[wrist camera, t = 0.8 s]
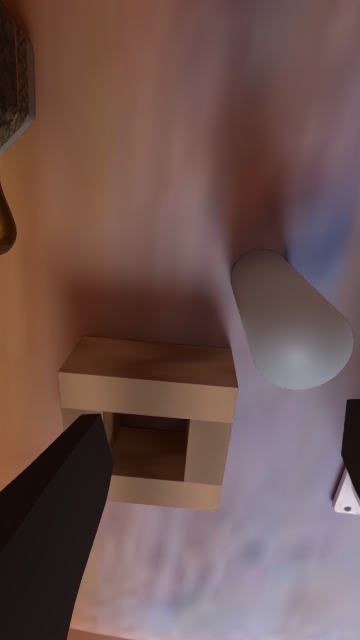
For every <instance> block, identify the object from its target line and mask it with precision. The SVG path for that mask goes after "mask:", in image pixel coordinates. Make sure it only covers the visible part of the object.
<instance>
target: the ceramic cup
mask: <svg viewBox="0 0 360 640" xmlns="http://www.w3.org/2000/svg"><path fill="white" fill-rule="evenodd" d="M34 120H35V89H34V58H33V47H32V45H31V43H30V41H29V40H28V39H27V37H26V36H25V34H24V32H23V31H22V30H21V28H20V27H19V25H18V24H17V22H16V21H15V20H14V18H13V17H12V16H11V14H10V13H9V11H8V10H7V9H6V7H5V6H4V5H3V3H2V2H1V1H0V154H2V153H3V152H5V151H6V150H7V149H8V148H9V147H10V145H11V144H12V143H13V142H14V141H15V140H16V139H17V138H18V137H19V136H20V135H21V134H22V133H23V132H24V131H25V130H26V129H27V128H28V127H29V126H30V125H31V124H32V123H33V121H34ZM16 235H17V231H16V225H15V222H14V219H13V216H12V213H11V211H10V209H9V206H8V204H7V201H6V199H5V196H4V193H3V191H2V187H1V184H0V255H2V254H4V253H6V252H8V251H9V250H10V249H11V248H12V247H13V245H14V242H15V240H16Z"/></svg>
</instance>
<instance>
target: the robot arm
mask: <svg viewBox="0 0 360 640" xmlns="http://www.w3.org/2000/svg"><path fill="white" fill-rule="evenodd" d="M341 455H342V458H343V461H344V463H345V466H346V467H345V470H344V473H343V475H342V478H341V481H340V483H339V486H338V489H337V491H336V494H335V497H334V499H333V502H332V506H333V509H334V511H336V512H340V513H350V514H360V399H350V400H347V404H346V414H345V423H344V433H343V442H342V451H341ZM113 465H114V462H113V458H112V454H111V451H110V447H109V443H108V439H107V435H106V431H105V427H104V424H103V420H102V416H101V413H96V414H81V415H80V416H79V417H78V418H77V419H76V420H75V421H74V422H73V423H72V424H71V425H70V426H69V427H68V428H67V429H66V430H65V431H64V432H63V433H62V434H61V435H60V436H59V437H58V438H57V439H56V440H55V441H54V442H53V443H52V444H51V445H50V446H49V447H48V448H47V449H46V450H45V451H44V452H43V453H42V454H41V455H40V456H38V457H37V458H36V459H35V460H34V461H33V462H32V463H31V464H30V465H29V466H28V467H27V468H26V469H25V470H24V471H23V472H22V473H20V474H19V475H18V476H17V477H16V478H15V479H14V480H13V481H12V482H11V483H9V484H8V485H7V486H6V487H5V488H4V489H3V490H2V491H1V492H0V640H67V635H68V631H69V627H70V622H71V618H72V613H73V609H74V605H75V601H76V597H77V594H78V590H79V586H80V583H81V580H82V576H83V573H84V570H85V567H86V564H87V561H88V558H89V554H90V551H91V548H92V545H93V542H94V539H95V536H96V532H97V529H98V526H99V523H100V520H101V516H102V513H103V510H104V507H105V503H106V500H107V497H108V492H109V487H110V482H111V476H112V471H113Z"/></svg>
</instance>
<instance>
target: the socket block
mask: <svg viewBox="0 0 360 640" xmlns="http://www.w3.org/2000/svg"><path fill="white" fill-rule="evenodd" d="M58 379H59V389H60V399H61V409H62V419H63V430H64V431H65V430H66V429H67V428H68V427H69V426H70V425H71V424H72V423H73V422H74V421H75V420H76V419H77V418H78V417H79V416H80V415H81V414H96V413H101V416H102V420H103V424H104V427H105V431H106V435H107V439H108V443H109V447H110V451H111V454H112V458H113V462H114V465H113V471H112V476H111V482H110V487H109V492H108V497H107V500H106V501H115V502H126V503H136V504H146V505H156V506H166V507H177V508H187V509H197V510H207V511H217V512H218V506H219V500H220V494H221V488H222V482H223V476H224V471H225V465H226V459H227V453H228V447H229V441H230V435H231V429H232V423H233V417H234V411H235V405H236V399H237V394H238V383H237V378H236V372H235V367H234V361H233V356H232V350H231V349H227V348H215V347H204V346H192V345H181V344H169V343H157V342H146V341H134V340H122V339H111V338H99V337H88V336H84V337H83V338H82V339H81V341H80V342H79V344H78V345H77V346H76V348H75V349H74V350H73V352H72V353H71V355H70V356H69V357H68V359H67V360H66V361H65V363H64V364H63V366H62V367H61V368H60V370H59V371H58ZM120 413H127V414H138V415H149V416H160V417H171V418H182V419H188V422H187V432H176V431H165V430H154V429H143V428H132V427H122V426H120Z"/></svg>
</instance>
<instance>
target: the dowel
mask: <svg viewBox="0 0 360 640" xmlns="http://www.w3.org/2000/svg"><path fill="white" fill-rule="evenodd" d="M231 285H232V289H233V293H234V296H235V300H236V303H237V307H238V310H239V313H240V317H241V320H242V324H243V327H244V331H245V334H246V338H247V341H248V344H249V348H250V351H251V355H252V358H253V362H254V364H255V367H256V368H257V370H258V372H259V373H260V374H261V375H262V376H263V377H264V378H265V379H266V380H267V381H269V382H270V383H272V384H274V385H276V386H279V387H282V388H285V389H293V390H300V389H308V388H313V387H316V386H319V385H321V384H323V383H325V382H327V381H329V380H330V379H332V378H333V377H335V376H336V375H337V374H338V373H339V372H340V371H341V370H342V369H343V368H344V366H345V365H346V364H347V362H348V360H349V358H350V356H351V353H352V350H353V343H354V339H353V332H352V329H351V327H350V324H349V323H348V321H347V320H346V318H345V317H344V316H343V315H342V314H341V313H340V312H339V311H338V310H337V309H336V308H335V307H334V306H333V305H332V304H331V303H330V302H329V301H328V300H327V299H325V298H324V297H323V296H322V295H321V294H320V293H319V292H318V291H317V290H316V289H315V288H314V287H313V286H312V285H311V284H310V283H309V282H308V281H307V280H306V279H305V278H304V277H303V276H302V275H301V274H300V273H299V272H298V271H297V270H296V269H295V268H294V267H293V266H292V265H291V264H289V263H288V262H287V261H286V260H285V259H284V258H283V257H282V256H281V255H280V254H278V253H277V252H275V251H272V250H268V249H258V250H253V251H251V252H248V253H247V254H245V255H244V256H242V257H241V258H240V259H239V260H238V261H237V263H236V264H235V266H234V268H233V270H232V274H231Z"/></svg>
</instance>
